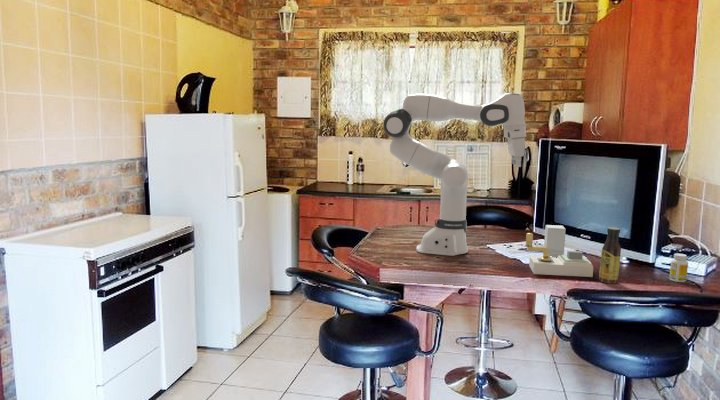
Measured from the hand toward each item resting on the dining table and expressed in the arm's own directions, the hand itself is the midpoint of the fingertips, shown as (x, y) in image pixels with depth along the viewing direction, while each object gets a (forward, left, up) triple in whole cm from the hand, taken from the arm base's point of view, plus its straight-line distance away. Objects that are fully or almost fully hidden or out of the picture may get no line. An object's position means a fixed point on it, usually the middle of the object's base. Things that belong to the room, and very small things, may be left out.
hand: (516, 165), depth 227 cm
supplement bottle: (+56, -27, -38) cm, 73 cm away
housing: (+15, -23, -38) cm, 47 cm away
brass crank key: (+7, -23, -34) cm, 41 cm away
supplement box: (+18, +2, -38) cm, 42 cm away
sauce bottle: (+30, -34, -38) cm, 59 cm away
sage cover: (+20, -23, -34) cm, 46 cm away
